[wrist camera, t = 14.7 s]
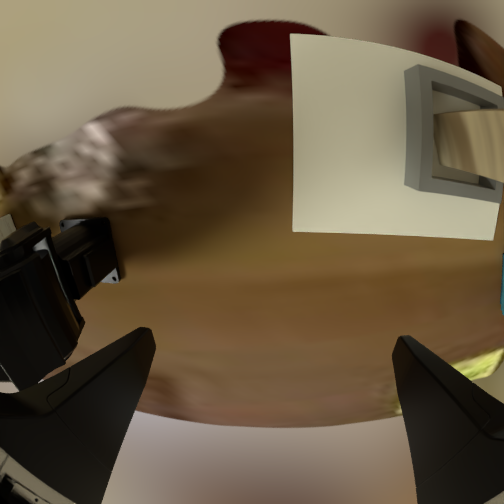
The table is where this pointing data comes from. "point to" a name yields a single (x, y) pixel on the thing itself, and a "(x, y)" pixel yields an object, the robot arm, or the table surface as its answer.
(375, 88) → the pocket board
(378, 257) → the table surface
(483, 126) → the birch post
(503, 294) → the handheld gaming console
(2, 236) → the supplement box
